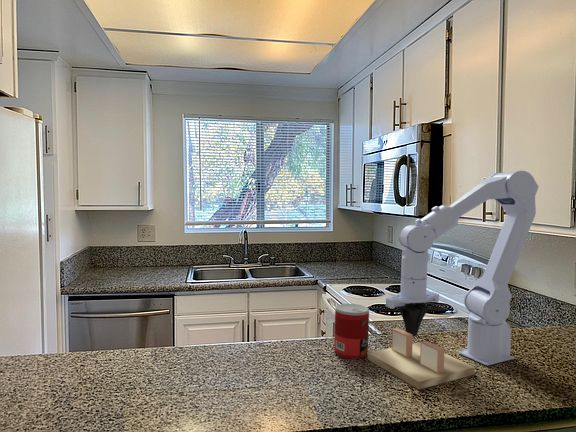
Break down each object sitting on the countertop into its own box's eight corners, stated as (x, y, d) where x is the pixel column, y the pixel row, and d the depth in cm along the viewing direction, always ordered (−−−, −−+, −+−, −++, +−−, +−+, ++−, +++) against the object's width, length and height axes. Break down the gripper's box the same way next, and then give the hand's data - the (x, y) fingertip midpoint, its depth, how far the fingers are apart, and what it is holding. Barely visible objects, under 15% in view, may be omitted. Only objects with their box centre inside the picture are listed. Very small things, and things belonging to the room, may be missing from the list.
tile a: (396, 348, 97) (397, 327, 97) (412, 356, 93) (412, 334, 92) (391, 349, 96) (392, 328, 96) (406, 357, 92) (407, 335, 92)
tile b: (425, 363, 89) (426, 340, 89) (443, 372, 85) (444, 348, 84) (419, 364, 88) (420, 341, 88) (437, 373, 84) (438, 349, 84)
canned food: (367, 361, 94) (369, 313, 93) (332, 357, 95) (333, 311, 95) (368, 348, 101) (369, 304, 100) (335, 345, 103) (336, 302, 102)
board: (419, 348, 102) (419, 342, 102) (474, 374, 88) (474, 367, 88) (367, 359, 95) (367, 352, 95) (418, 389, 80) (418, 381, 80)
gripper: (424, 271, 102) (421, 325, 103) (377, 276, 95) (375, 333, 96) (446, 277, 95) (444, 334, 96) (398, 282, 89) (396, 343, 90)
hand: (411, 334), depth 96 cm, fingers closed
